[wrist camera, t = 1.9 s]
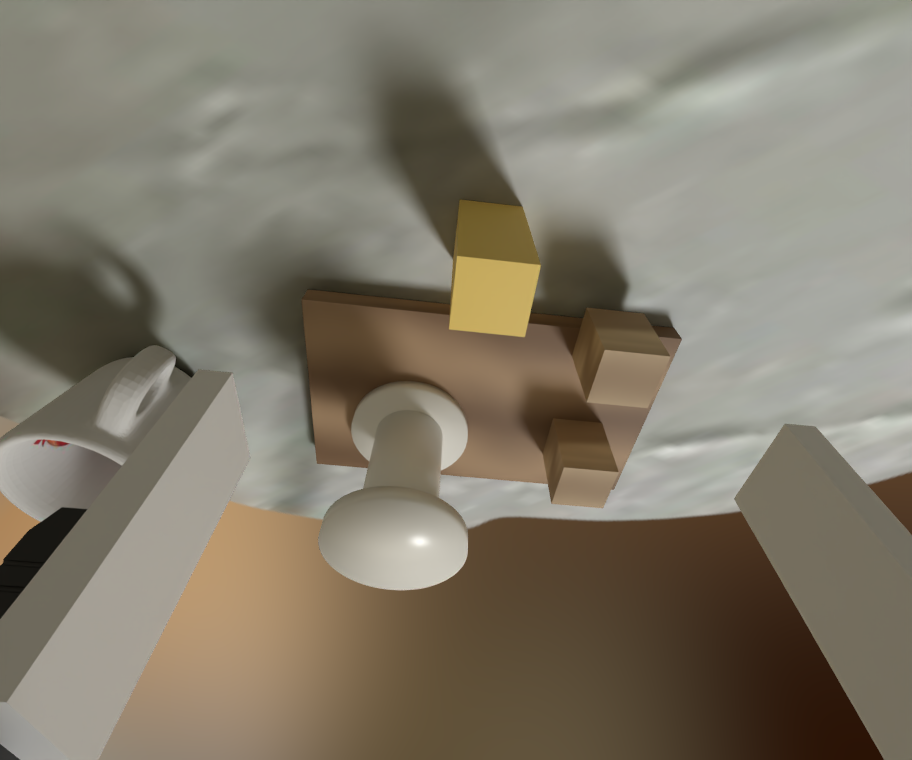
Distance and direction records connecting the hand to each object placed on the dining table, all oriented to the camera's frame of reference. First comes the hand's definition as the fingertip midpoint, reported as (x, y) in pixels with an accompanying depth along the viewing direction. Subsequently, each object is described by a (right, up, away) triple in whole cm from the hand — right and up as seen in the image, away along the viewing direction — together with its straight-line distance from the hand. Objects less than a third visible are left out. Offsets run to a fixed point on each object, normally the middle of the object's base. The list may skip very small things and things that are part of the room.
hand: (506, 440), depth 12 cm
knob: (-4, -1, +18) cm, 18 cm away
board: (0, +1, +18) cm, 18 cm away
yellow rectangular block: (0, +9, +12) cm, 15 cm away
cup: (-19, +2, +17) cm, 26 cm away
